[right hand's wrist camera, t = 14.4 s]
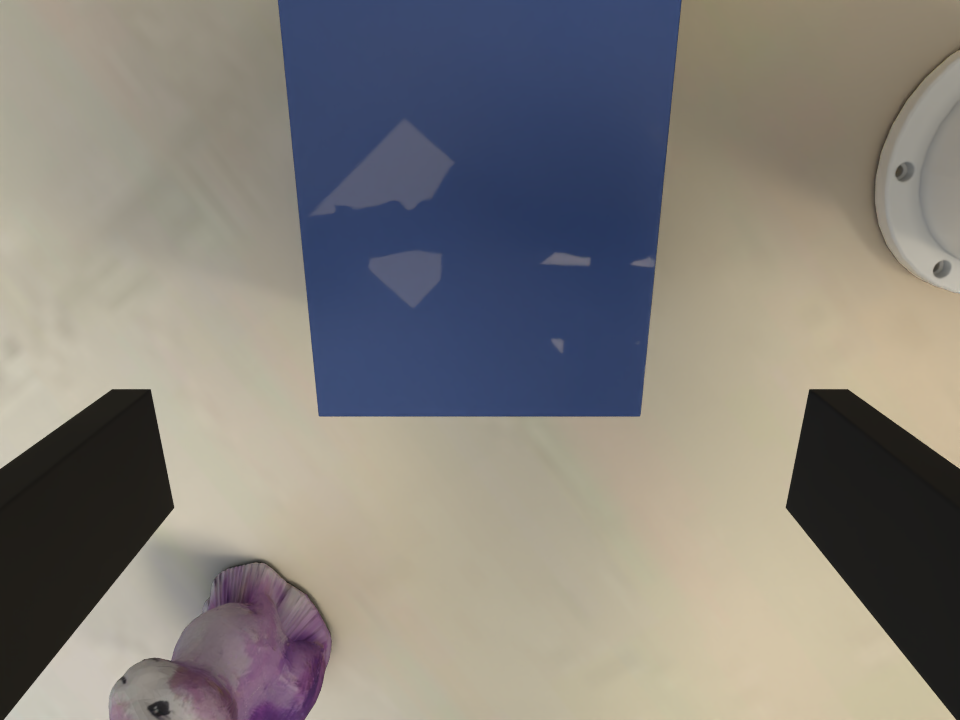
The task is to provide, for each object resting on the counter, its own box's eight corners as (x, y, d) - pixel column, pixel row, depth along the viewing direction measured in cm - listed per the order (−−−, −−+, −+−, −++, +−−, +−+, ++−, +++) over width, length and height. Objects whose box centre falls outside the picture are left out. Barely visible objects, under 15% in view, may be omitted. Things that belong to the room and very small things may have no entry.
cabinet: (351, 35, 29) (274, -21, 18) (607, 35, 29) (684, -21, 18) (370, 324, 33) (318, 416, 23) (588, 324, 33) (641, 417, 23)
